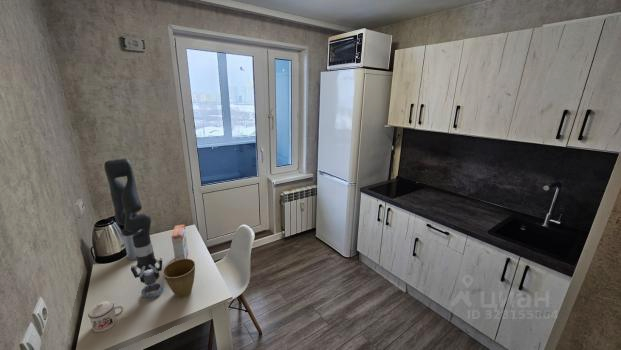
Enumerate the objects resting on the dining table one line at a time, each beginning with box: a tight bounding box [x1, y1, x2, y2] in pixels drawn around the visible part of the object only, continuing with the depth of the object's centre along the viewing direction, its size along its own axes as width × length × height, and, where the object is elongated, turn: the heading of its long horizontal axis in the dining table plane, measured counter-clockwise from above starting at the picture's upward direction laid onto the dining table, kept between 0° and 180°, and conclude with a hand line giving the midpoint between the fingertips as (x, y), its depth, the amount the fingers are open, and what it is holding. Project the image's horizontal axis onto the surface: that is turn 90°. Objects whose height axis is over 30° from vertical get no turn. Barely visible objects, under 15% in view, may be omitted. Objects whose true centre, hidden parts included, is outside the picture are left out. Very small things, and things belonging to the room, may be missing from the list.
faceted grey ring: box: [141, 281, 164, 300], centre depth 134 cm, size 10×10×3 cm
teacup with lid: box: [87, 300, 124, 333], centre depth 114 cm, size 12×9×12 cm
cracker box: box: [171, 224, 189, 261], centre depth 159 cm, size 14×6×21 cm, turn 19°
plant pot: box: [162, 258, 196, 299], centre depth 132 cm, size 15×15×16 cm
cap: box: [143, 269, 158, 286], centre depth 131 cm, size 6×6×5 cm
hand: (150, 279), depth 131 cm, fingers closed on cap, 5 cm apart
